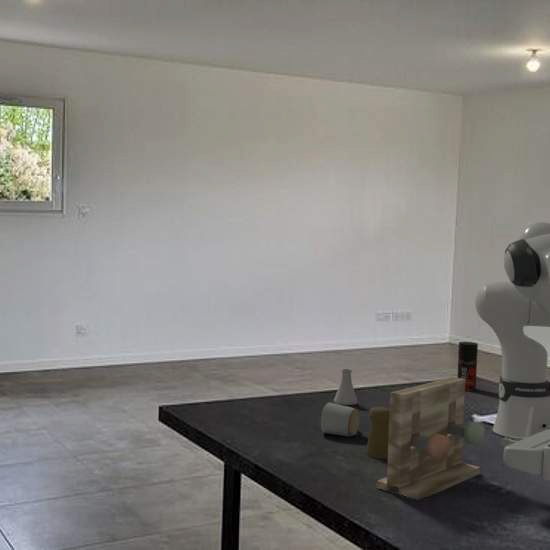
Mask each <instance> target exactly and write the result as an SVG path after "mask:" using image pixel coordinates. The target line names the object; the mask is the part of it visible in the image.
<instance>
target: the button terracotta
mask: <svg viewBox="0 0 550 550" xmlns="http://www.w3.org/2000/svg"><path fill="white" fill-rule="evenodd" d="M411 446H413V447H417V448H421V449H425V450H427V451H428V454H429V456H431V457H435V458H439V459H445V458H446V457H447V456H448V454H449V451H450V439H449V437H448V436H444V435H440V434H436V433H435V434H433V435H431V437H426V436H421V435H417V434H415V435H412V436H411Z"/></svg>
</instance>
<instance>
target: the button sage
mask: <svg viewBox="0 0 550 550" xmlns="http://www.w3.org/2000/svg"><path fill="white" fill-rule="evenodd" d="M448 434H452V435H456V436H461V437H463V440H464V442H465V443H466V444H470V445H474V446H479V447H480V446H481V445H482V444H483V442H484V440H485V437H486V436H485V435H486V429H485V426H484V424H483V423H480V422H476V421H468V422H467V423H466V425H465V424H463V425H461V424H457V423H449V424H448Z"/></svg>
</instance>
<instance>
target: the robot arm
mask: <svg viewBox="0 0 550 550" xmlns="http://www.w3.org/2000/svg"><path fill="white" fill-rule="evenodd" d="M503 266H504V270H505V274H506V275H507V277H508V279H509V281H510V282H509V281H500V282H492V283H487V284H484V285H482V286H481V288H480V289H479V290H478V292H477V294H476V297H475V300H474V301H475V309H476V312H477V314H478V316H479V317H480V319H481V320H482V321H483V322H484V323H486V324H487V325H488V326H489V327H490V328H491V329H492V330H493V332H494V333H495V335H496V337H497V339H498V342H499V345H500V349H501V376H499V385H498V399H499V401H498V408H497V413H496V418H495V422H494V424H493V426H492V431H493V433H496V434H497V435H499V436H502V437H503V438H501V439H500V447H502V448H503V459H502V460H503V464H504V465H505V466H506V467H508V468H510V469H512V470H515V471H519V472H521V473H526V474H529V475H532V476H538V477H539V476H542V480H544V481H547V482H550V381H549V380H548V379H547V375H548V374H547V373H548V352H547V348H545V346H544V345H542V344H541V343H540V342H539V341H537V340H535V339H534V338H531V337H529V336H528V335H526V334H525V332H524V327H543V328H550V223H549V222H543V221H541V222H540V221H539V222H535V223H532V224H530V225H528V226H527V227H526V228H525V229H524V230H523V232H522V233H521V235H520V237H519V238H518V240H516V241H512V242H510V243H509V244H508V246H507V247H506V249H505V251H504V257H503Z"/></svg>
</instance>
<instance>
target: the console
mask: <svg viewBox="0 0 550 550" xmlns="http://www.w3.org/2000/svg"><path fill="white" fill-rule="evenodd" d="M465 392H466V391H465V379H462V378H457V376H452V377H448V378H442V379H440V380H435V381H431V382H428V383H424V384H420V385H414V386H412V387H411V386H410V387H407V388H403V389H399V390H395V391H391V392H390V395H389V409H390V413H389V439H388V458H387V471H386V477H383V478H380V479H378V480H376V489H379V490H381V489H382V491H385V492H388V491H389V493H391V492H394V493H397V494H396V495H398V494H401V495H404V496H407V497H406V498H408V497H411V498H414V499H418V500H419V501H421V500H420V499H422V498H424V497H426V498H428V497H430V495H431V496H433V495H435V494H438V493H440V492H442V491H444V490H447V489H449V488H451V487H453V486H456V485H458V484H461V483H462V482H465V481H467V480H469V479H472V478H474V477H476V476H478V475H480V474H481V466H477V465H473V464H470V463H465V462H462V458H463V440H464V437H461V436H456V435H452V434H448V424H449V423H457V424H461V425H464V418H465V417H464V415H465V394H466V393H465ZM435 433H436V434H440V435H444V436H448V437H449V439H450V451H449V454H448V456H447V457H446V458H445V459H439V458H435V457H431V456H429V454H428V451H427V450H425V449H421V448H417V447H413V446H411V436H412V435H415V434H417V435H421V436H426V437H431V435H433V434H435ZM437 492H438V493H437ZM394 493H393V494H394ZM432 494H433V495H432ZM401 495H400V496H401ZM404 496H403V497H404ZM411 498H410V499H411ZM414 499H413V500H414ZM424 499H425V498H424ZM422 500H423V499H422Z"/></svg>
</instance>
